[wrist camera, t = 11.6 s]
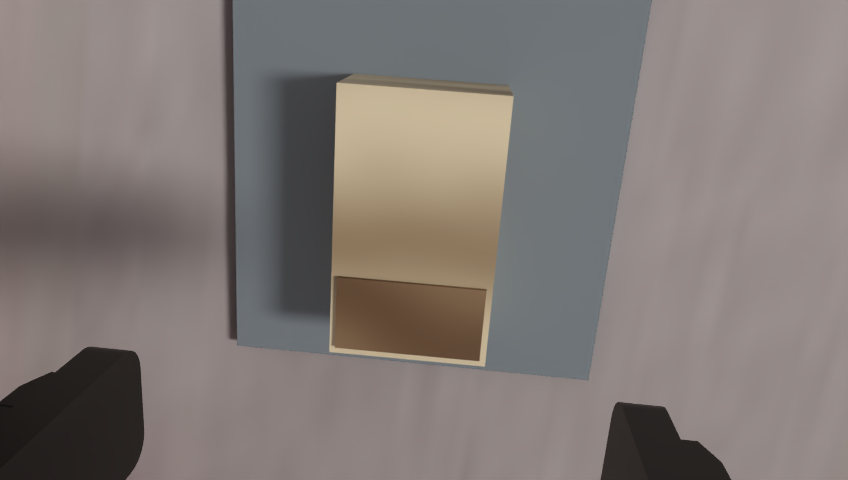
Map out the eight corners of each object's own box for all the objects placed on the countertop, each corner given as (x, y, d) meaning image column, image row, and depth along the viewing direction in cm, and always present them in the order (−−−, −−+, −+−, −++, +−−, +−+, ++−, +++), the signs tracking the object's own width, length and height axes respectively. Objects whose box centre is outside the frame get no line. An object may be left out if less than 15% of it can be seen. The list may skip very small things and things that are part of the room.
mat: (690, -259, 20) (696, -266, 19) (586, 373, 26) (588, 380, 25) (234, -286, 20) (228, -293, 20) (241, 339, 26) (237, 345, 26)
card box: (354, 73, 23) (335, 83, 20) (508, 85, 22) (514, 96, 19) (345, 313, 25) (328, 354, 22) (483, 326, 25) (485, 368, 22)
